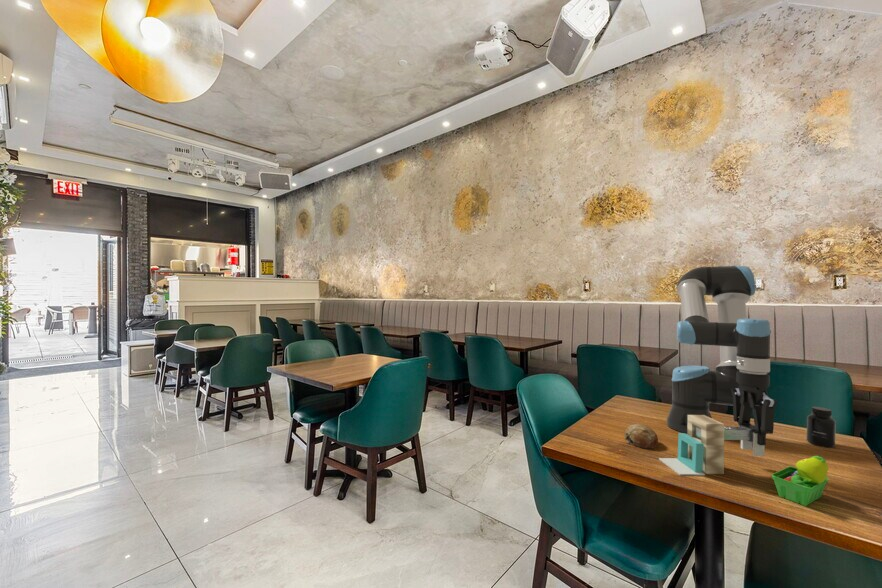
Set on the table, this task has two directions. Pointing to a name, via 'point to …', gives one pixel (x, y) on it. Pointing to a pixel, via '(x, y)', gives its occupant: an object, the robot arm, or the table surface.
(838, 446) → the table surface
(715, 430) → the light wood tall block
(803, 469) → the fruit basket
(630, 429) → the brown rounded lump
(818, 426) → the supplement bottle
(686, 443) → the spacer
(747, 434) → the shaft
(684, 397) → the robot arm
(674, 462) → the mat
